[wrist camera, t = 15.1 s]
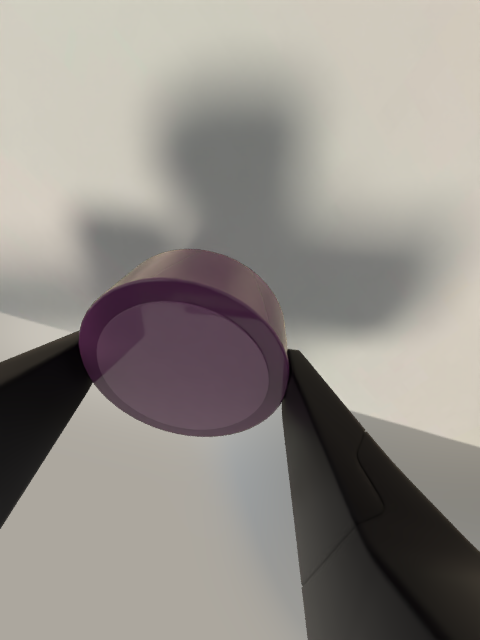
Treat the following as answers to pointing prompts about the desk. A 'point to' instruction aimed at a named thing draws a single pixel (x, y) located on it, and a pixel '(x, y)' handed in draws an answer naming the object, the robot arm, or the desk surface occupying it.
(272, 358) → the dish
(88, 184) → the desk surface
